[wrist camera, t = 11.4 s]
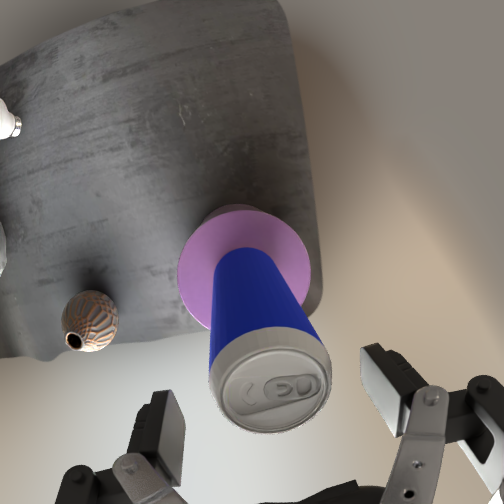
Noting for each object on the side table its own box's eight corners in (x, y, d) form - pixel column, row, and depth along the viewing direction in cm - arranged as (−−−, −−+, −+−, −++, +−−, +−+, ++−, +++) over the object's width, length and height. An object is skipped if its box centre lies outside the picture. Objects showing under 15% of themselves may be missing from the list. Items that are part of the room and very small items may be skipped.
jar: (275, 190, 36) (299, 197, 25) (291, 280, 39) (318, 321, 28) (179, 210, 36) (161, 227, 24) (202, 300, 38) (196, 349, 27)
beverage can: (218, 310, 27) (221, 445, 12) (208, 250, 25) (195, 350, 11) (279, 301, 27) (337, 425, 12) (273, 241, 26) (339, 327, 11)
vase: (70, 316, 37) (41, 347, 29) (85, 273, 36) (55, 299, 28) (113, 341, 39) (93, 378, 30) (132, 300, 38) (111, 333, 29)
